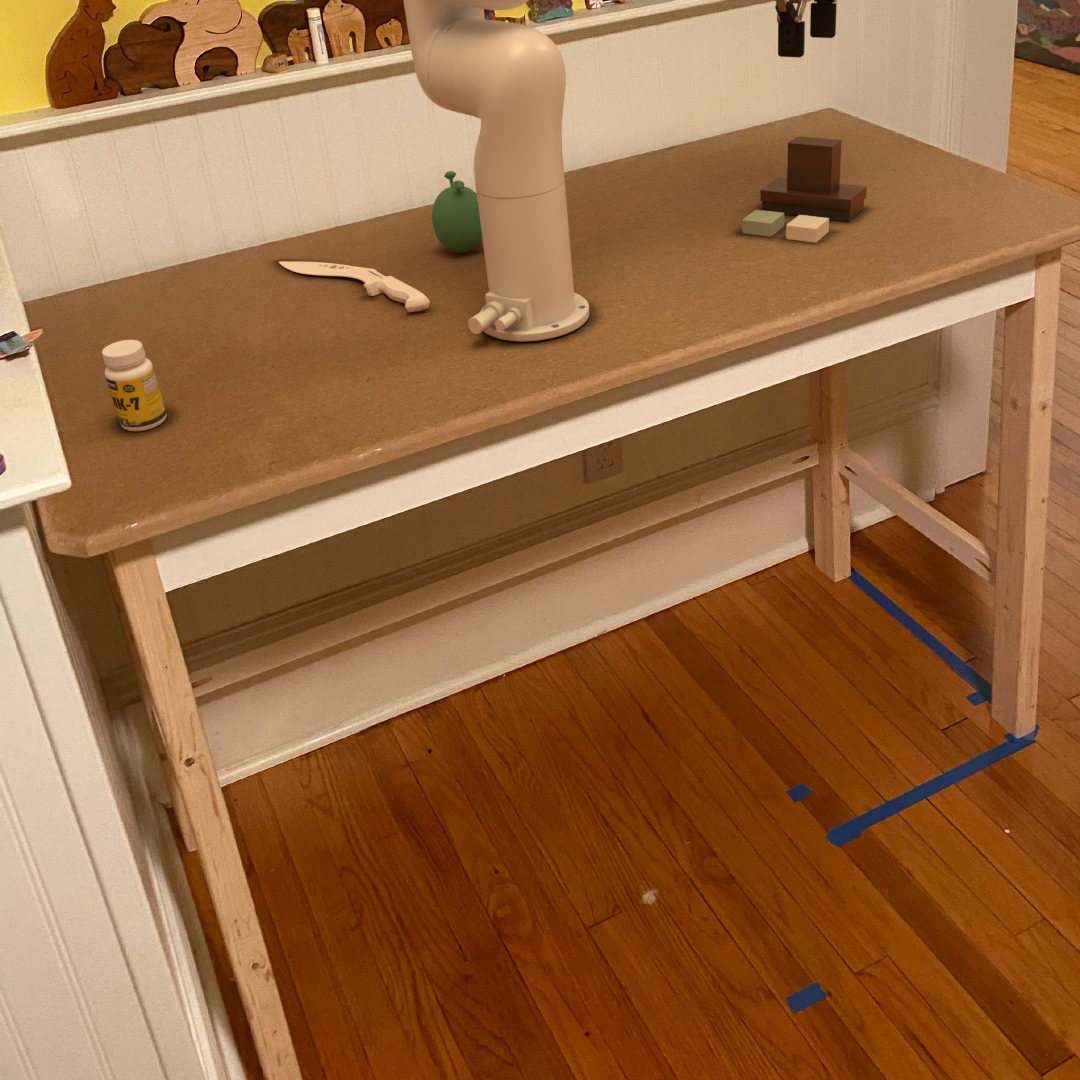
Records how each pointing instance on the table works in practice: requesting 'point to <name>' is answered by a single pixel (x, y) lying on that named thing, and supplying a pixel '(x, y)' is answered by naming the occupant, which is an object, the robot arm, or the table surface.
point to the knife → (366, 281)
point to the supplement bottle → (133, 386)
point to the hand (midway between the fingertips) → (807, 46)
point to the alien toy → (457, 217)
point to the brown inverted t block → (814, 183)
